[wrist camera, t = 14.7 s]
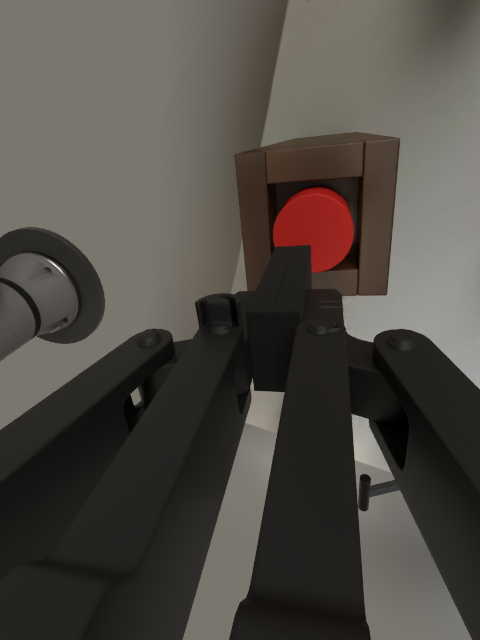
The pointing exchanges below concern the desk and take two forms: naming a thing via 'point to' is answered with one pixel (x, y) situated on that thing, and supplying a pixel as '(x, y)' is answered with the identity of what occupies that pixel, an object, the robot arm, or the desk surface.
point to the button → (316, 225)
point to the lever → (373, 490)
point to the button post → (338, 174)
